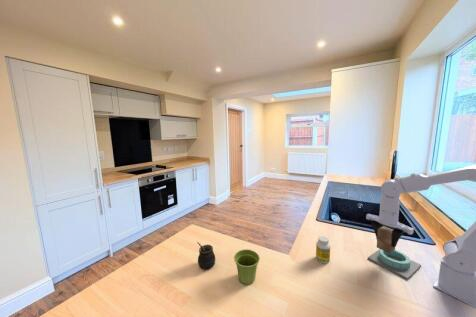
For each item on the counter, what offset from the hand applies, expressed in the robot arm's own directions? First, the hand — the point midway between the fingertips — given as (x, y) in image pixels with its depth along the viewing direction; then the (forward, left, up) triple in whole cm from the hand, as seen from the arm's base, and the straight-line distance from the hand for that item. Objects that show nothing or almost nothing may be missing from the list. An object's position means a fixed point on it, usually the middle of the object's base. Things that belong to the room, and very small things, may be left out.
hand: (386, 242), depth 72 cm
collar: (-1, -4, -9) cm, 10 cm away
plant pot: (+23, +52, -10) cm, 57 cm away
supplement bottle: (+15, +19, -10) cm, 26 cm away
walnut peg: (0, 0, -2) cm, 2 cm away
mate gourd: (+37, +63, -10) cm, 73 cm away
